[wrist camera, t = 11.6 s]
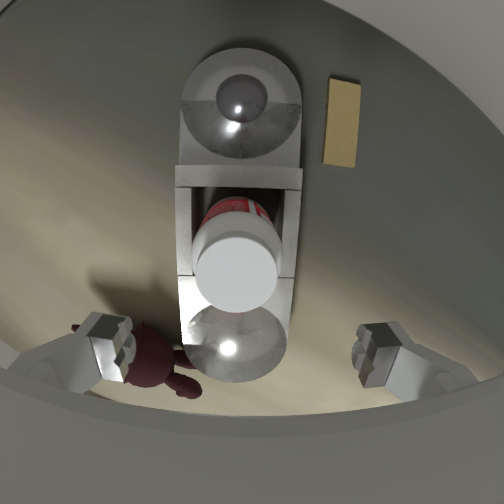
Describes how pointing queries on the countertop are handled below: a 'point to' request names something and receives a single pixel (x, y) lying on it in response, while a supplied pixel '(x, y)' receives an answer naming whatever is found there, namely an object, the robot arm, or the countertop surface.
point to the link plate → (341, 123)
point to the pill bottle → (236, 255)
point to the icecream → (159, 364)
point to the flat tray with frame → (238, 175)
